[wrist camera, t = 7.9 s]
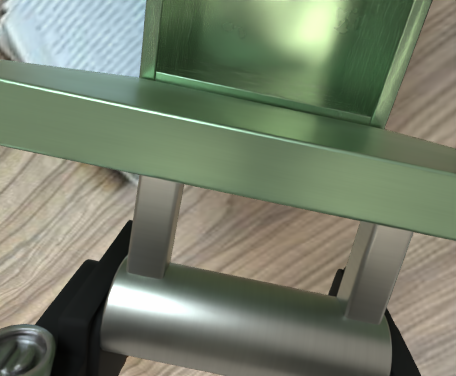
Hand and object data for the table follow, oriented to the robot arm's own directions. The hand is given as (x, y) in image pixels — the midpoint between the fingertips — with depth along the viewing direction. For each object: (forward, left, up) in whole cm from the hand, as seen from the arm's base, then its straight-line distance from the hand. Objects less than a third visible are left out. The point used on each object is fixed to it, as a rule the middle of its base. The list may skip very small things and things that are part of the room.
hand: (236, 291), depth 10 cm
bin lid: (-4, +2, -3) cm, 5 cm away
